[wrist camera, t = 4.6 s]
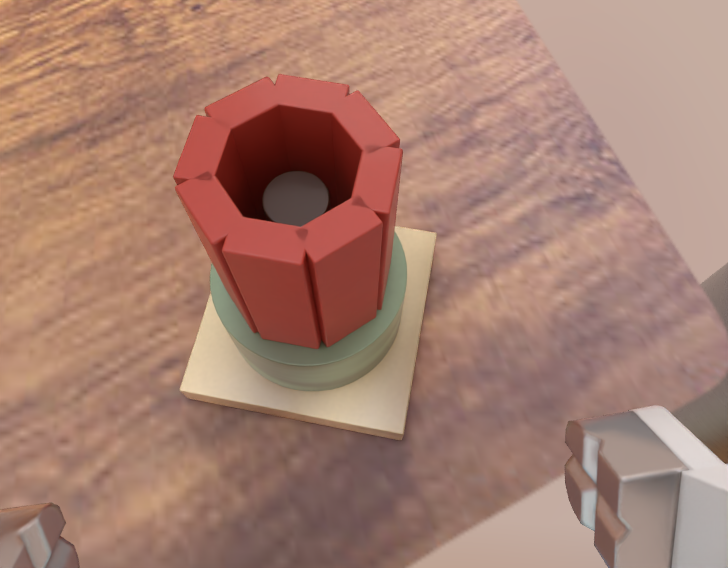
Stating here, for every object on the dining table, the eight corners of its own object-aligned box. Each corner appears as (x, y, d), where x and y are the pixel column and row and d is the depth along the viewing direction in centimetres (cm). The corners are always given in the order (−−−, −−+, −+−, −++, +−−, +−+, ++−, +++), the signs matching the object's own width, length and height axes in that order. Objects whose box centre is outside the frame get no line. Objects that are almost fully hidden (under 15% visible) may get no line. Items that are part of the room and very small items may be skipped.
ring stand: (433, 246, 31) (468, 101, 21) (401, 440, 27) (425, 375, 17) (245, 213, 32) (193, 58, 22) (187, 398, 28) (91, 312, 18)
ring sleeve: (399, 216, 26) (414, 94, 19) (371, 360, 23) (377, 279, 16) (253, 191, 26) (215, 63, 19) (209, 329, 24) (148, 238, 17)
